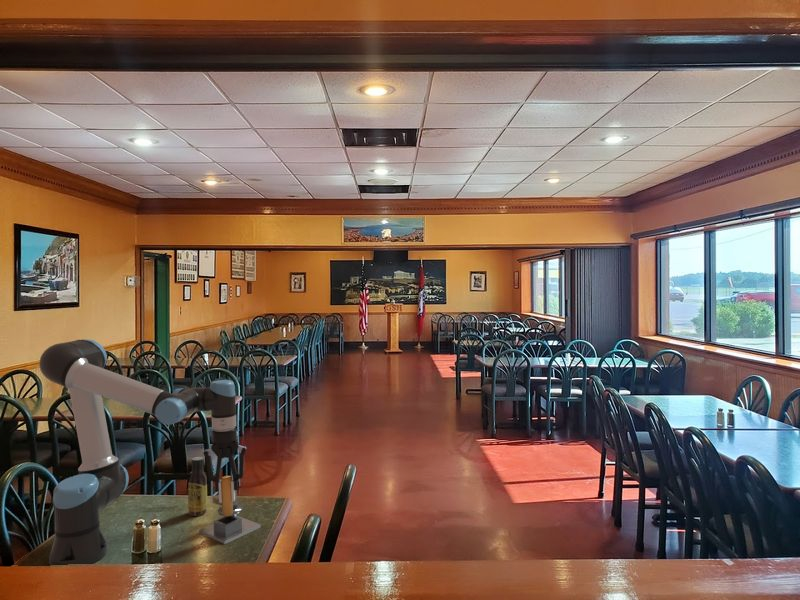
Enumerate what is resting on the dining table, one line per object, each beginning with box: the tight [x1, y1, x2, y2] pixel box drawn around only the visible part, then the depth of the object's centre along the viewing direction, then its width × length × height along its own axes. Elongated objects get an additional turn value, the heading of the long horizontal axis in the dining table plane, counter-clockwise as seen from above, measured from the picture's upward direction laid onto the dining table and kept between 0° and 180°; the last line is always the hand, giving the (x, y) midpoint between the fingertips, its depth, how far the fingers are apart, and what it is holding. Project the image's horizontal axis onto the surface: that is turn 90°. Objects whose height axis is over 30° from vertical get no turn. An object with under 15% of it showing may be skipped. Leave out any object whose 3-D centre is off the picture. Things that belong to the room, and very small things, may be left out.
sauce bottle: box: [187, 456, 208, 517], centre depth 194 cm, size 7×6×20 cm
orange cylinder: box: [220, 475, 233, 517], centre depth 177 cm, size 3×3×12 cm
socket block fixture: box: [198, 477, 262, 545], centre depth 182 cm, size 19×14×15 cm
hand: (227, 500), depth 177 cm, fingers closed on orange cylinder, 3 cm apart
